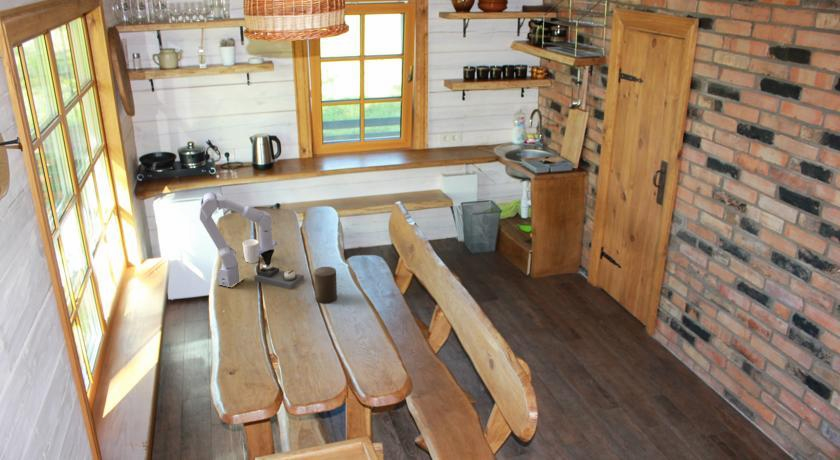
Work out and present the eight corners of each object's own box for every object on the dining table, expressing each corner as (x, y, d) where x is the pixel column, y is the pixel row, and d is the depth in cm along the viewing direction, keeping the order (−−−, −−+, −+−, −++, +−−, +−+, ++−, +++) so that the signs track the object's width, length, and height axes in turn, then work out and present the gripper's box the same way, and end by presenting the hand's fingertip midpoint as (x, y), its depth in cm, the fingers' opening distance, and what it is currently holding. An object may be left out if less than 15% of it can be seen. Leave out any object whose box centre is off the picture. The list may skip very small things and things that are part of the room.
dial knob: (291, 280, 327) (291, 275, 326) (282, 278, 329) (281, 273, 328) (297, 275, 331) (297, 271, 330) (288, 273, 333) (288, 269, 332)
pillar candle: (333, 304, 312) (332, 273, 307) (312, 302, 314) (310, 271, 308) (339, 295, 321) (339, 264, 315) (319, 292, 323) (318, 262, 317)
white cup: (262, 258, 357) (260, 239, 353) (257, 264, 349) (255, 245, 346) (246, 257, 357) (245, 238, 354) (241, 263, 350) (240, 245, 346)
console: (290, 289, 325) (290, 280, 323) (254, 281, 332) (254, 272, 330) (303, 280, 334) (303, 271, 332) (268, 272, 342) (267, 263, 340)
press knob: (269, 271, 331) (268, 267, 330) (261, 269, 332) (261, 265, 332) (274, 267, 335) (274, 263, 334) (266, 266, 336) (266, 262, 335)
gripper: (263, 244, 320) (265, 271, 325) (282, 233, 332) (283, 259, 337) (250, 241, 322) (253, 268, 328) (269, 231, 335) (271, 257, 340)
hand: (267, 264), depth 333 cm, fingers closed
